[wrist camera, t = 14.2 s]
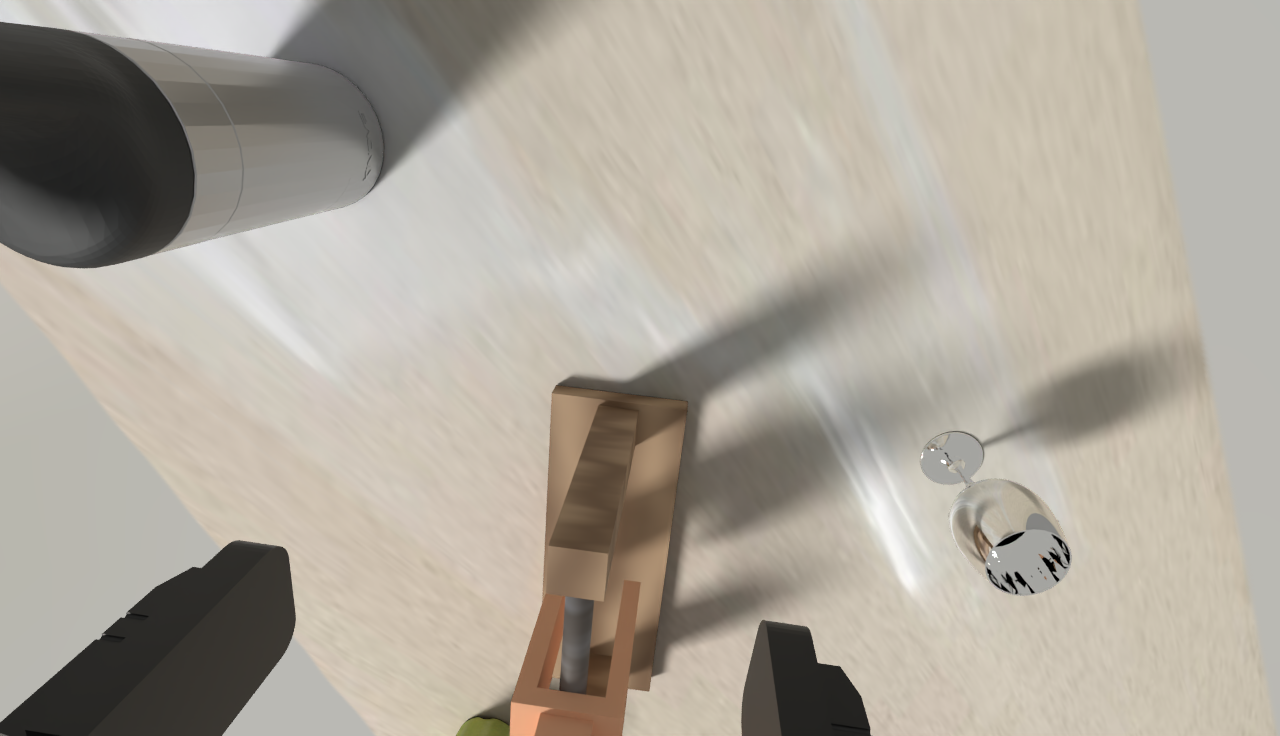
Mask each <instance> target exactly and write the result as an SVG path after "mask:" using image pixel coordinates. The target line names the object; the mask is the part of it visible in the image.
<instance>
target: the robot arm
mask: <svg viewBox="0 0 1280 736" xmlns="http://www.w3.org/2000/svg"><path fill="white" fill-rule="evenodd" d="M383 150H384V145H383V138H382V132H381V128H380V125H379V122H378V119H377V116H376V114H375V112H374V110H373V109H372V107H371V105H370V103H369V101H368V100H367V99H366V97H365V96H364V95H363V94H362V93H361V91H360V90H359V89H358V88H357V87H356V86H355V85H354V84H353V83H351V82H350V81H349V80H348V79H347V78H346V77H344V76H342V75H341V74H339V73H337V72H335V71H334V70H332V69H329V68H326V67H323V66H320V65H317V64H310V63H303V62H296V61H288V60H282V59H276V58H269V57H262V56H255V55H248V54H240V53H233V52H226V51H219V50H211V49H204V48H197V47H190V46H182V45H175V44H168V43H161V42H154V41H146V40H139V39H132V38H122V37H114V36H107V35H100V34H93V33H85V32H78V31H71V30H63V29H56V28H48V27H40V26H31V25H22V24H13V23H5V22H0V243H2V244H4V245H5V246H7V247H9V248H11V249H12V250H14V251H16V252H18V253H20V254H22V255H24V256H27V257H29V258H32V259H35V260H37V261H40V262H44V263H47V264H51V265H55V266H61V267H70V268H97V267H103V266H109V265H115V264H119V263H123V262H127V261H131V260H135V259H139V258H143V257H146V256H149V255H153V254H157V253H161V252H165V251H169V250H173V249H177V248H181V247H185V246H189V245H193V244H197V243H201V242H204V241H208V240H212V239H216V238H220V237H224V236H228V235H232V234H236V233H240V232H244V231H248V230H252V229H256V228H260V227H265V226H269V225H273V224H277V223H281V222H285V221H289V220H293V219H297V218H301V217H305V216H310V215H314V214H318V213H322V212H326V211H330V210H334V209H338V208H342V207H345V206H348V205H350V204H353V203H355V202H357V201H358V200H360V199H361V198H363V197H364V196H365V195H366V194H367V193H368V192H369V191H370V190H371V188H372V187H373V186H374V184H375V182H376V180H377V178H378V176H379V174H380V171H381V167H382V163H383ZM295 621H296V615H295V606H294V598H293V589H292V581H291V572H290V564H289V556H288V553H287V551H286V549H285V548H283V547H280V546H274V545H267V544H260V543H253V542H247V541H240V540H238V541H233V542H231V543H229V544H228V545H227V546H225V547H224V548H223V549H222V550H221V551H220V552H219V553H218V554H217V555H216V556H214V557H213V559H211V560H210V561H209V562H208V563H207V564H206V565H205V566H204V567H202V568H196V567H192V568H190V569H189V570H187V571H185V572H183V573H181V574H179V575H177V576H176V577H174V578H172V579H170V580H168V581H166V582H164V583H163V584H161V585H159V586H157V587H155V588H154V589H153V590H152V591H151V592H150V593H148V594H147V595H146V596H145V597H144V598H143V599H142V600H140V601H139V602H138V603H137V604H136V605H135V606H134V607H133V608H131V609H130V610H129V611H128V612H127V615H126V617H125V618H120V619H119V620H117V621H116V622H115V623H114V624H113V625H112V626H111V627H109V628H108V629H107V630H106V631H105V632H104V633H103V634H102V637H101V639H100V640H94V641H93V642H92V643H91V644H90V645H89V646H88V647H87V648H85V649H84V650H83V651H82V652H81V653H80V654H78V655H77V656H76V657H75V658H74V659H73V660H72V661H70V662H69V663H68V664H67V665H66V666H65V667H63V668H62V669H61V670H60V671H59V672H58V673H57V674H55V675H54V676H53V677H52V678H51V679H50V680H49V681H48V682H46V683H45V684H44V685H43V686H42V687H40V688H39V689H38V690H37V691H36V692H35V693H34V694H32V695H31V696H30V697H29V698H28V699H27V700H26V701H24V702H23V703H22V704H21V705H20V706H19V707H18V708H16V709H15V710H14V711H13V712H12V713H11V714H9V715H8V716H7V717H6V718H5V719H4V720H3V721H2V722H0V736H222V735H223V733H224V732H225V731H226V729H227V728H228V727H229V725H230V724H231V723H232V722H233V720H234V719H235V718H236V716H237V715H238V714H239V712H240V711H241V710H242V708H243V707H244V706H245V705H246V703H247V702H248V701H249V699H250V698H251V697H252V695H253V694H254V693H255V691H256V690H257V689H258V688H259V686H260V685H261V684H262V682H263V681H264V680H265V678H266V677H267V676H268V674H269V673H270V672H271V671H272V669H273V668H274V667H275V665H276V664H277V663H278V662H279V660H280V659H281V657H282V656H283V655H284V653H285V651H286V650H287V648H288V645H289V643H290V641H291V639H292V635H293V632H294V628H295ZM741 723H742V736H871V735H870V726H869V722H868V719H867V715H866V712H865V708H864V705H863V701H862V698H861V696H860V694H859V693H858V691H857V690H856V688H855V687H854V686H853V684H852V683H851V681H850V680H849V679H848V677H847V676H846V674H845V673H844V671H843V670H842V669H841V667H840V666H833V665H827V664H820V663H817V658H816V654H815V649H814V645H813V640H812V636H811V632H810V630H809V628H808V627H805V626H799V625H792V624H785V623H778V622H772V621H765V620H762V621H761V623H760V625H759V628H758V632H757V636H756V641H755V645H754V649H753V653H752V657H751V661H750V666H749V670H748V674H747V678H746V682H745V687H744V693H743V701H742V719H741Z"/></svg>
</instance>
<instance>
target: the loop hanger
mask: <svg viewBox="0 0 1280 736" xmlns="http://www.w3.org/2000/svg"><path fill="white" fill-rule="evenodd" d="M640 584H641V582H636V581H629V580H624V585H623V591H622V597H621V603H620V610H619V616H618V622H617V629H616V635H615V641H614V648H613V654H612V660H611V666H610V673H609V679H608V685H607V692H606V698H605V697H598V696H591V695H585V694H578V693H571V692H565V691H558V690H551V689H549V686H550V683H551V679H552V675H553V671H554V667H555V663H556V660H557V656H558V652H559V648H560V644H561V640H562V636H563V625H564V609H565V596H560V595H553V594H545V597H544V600H543V603H542V606H541V609H540V613H539V616H538V619H537V622H536V625H535V628H534V631H533V634H532V638H531V641H530V644H529V647H528V650H527V653H526V656H525V660H524V663H523V666H522V669H521V672H520V675H519V678H518V681H517V685H516V688H515V691H514V694H513V697H512V700H511V713H510V736H622V730H623V723H624V715H625V707H626V699H627V690H628V682H629V674H630V666H631V658H632V650H633V641H634V633H635V625H636V617H637V609H638V601H639V592H640Z"/></svg>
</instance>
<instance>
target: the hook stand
mask: <svg viewBox="0 0 1280 736" xmlns="http://www.w3.org/2000/svg"><path fill="white" fill-rule="evenodd" d="M687 405H688V401H680V400H672V399H663V398H655V397H647V396H639V395H631V394H623V393H615V392H607V391H599V390H590V389H582V388H574V387H566V386H558V385H556V387H555V389H554V390H553V392H552V403H551V424H550V446H549V468H548V490H547V512H546V534H545V556H544V578H543V599H542V603H543V600H544V597H545V594H553V595H560V596H565V609H564V625H563V636H562V640H561V644H560V648H559V652H558V656H557V660H556V663H555V667H554V671H553V675H552V677H553V678H560V688H559V691H565V692H571V693H578V694H585V695H591V696H598V697H605V698H606V692H607V685H608V679H609V673H610V666H611V660H612V654H613V648H614V641H615V635H616V629H617V622H618V616H619V610H620V603H621V597H622V591H623V585H624V580H629V581H636V582H641V584H640V592H639V601H638V609H637V617H636V625H635V633H634V641H633V650H632V658H631V666H630V674H629V682H628V689H635V690H642V691H649V689H650V682H651V675H652V667H653V660H654V652H655V645H656V638H657V630H658V623H659V615H660V608H661V601H662V593H663V586H664V578H665V571H666V564H667V556H668V549H669V541H670V534H671V527H672V519H673V512H674V504H675V497H676V490H677V482H678V475H679V467H680V460H681V453H682V445H683V438H684V430H685V423H686V416H687Z"/></svg>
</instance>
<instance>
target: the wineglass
mask: <svg viewBox="0 0 1280 736" xmlns="http://www.w3.org/2000/svg"><path fill="white" fill-rule="evenodd" d="M982 461H983V451H982V448H981V445H980V444H979V442H978V441H977V440H976V439H975V438H973V437H972V436H970V435H968V434H966V433H961V432H949V433H945V434H942V435H939V436H937V437H935V438H934V439H932V440H931V441H930V442H929V443H928V444H927V445H926V446H925V448H924V449H923V451H922V454H921V458H920V465H921V469H922V471H923V473H924V474H925V475H926V477H927V478H929V479H930V480H932V481H933V482H936V483H939V484H943V485H953V484H958V483H961V482H964V483H965V485H966V488H965V489H964V490H962V491H961V492H960V493H959V495H958V496H957V497H956V498H955V500H954V502H953V504H952V506H951V509H950V512H949V527H950V531H951V535H952V538H953V540H954V542H955V544H956V546H957V548H958V549H959V551H960V552H961V554H962V555H963V556H964V557H965V559H966V560H967V561H968V562H969V563H970V565H971V566H972V567H973V568H974V569H975V570H976V571H977V572H978V573H979V574H980V575H982V576H983V577H984V578H985V579H986V580H987V581H988V582H989V583H991V584H992V585H993V586H994V587H996V588H997V589H999V590H1001V591H1002V592H1005V593H1008V594H1012V595H1020V596H1025V595H1033V594H1037V593H1041V592H1044V591H1046V590H1048V589H1050V588H1052V587H1054V586H1055V585H1056V584H1058V583H1059V582H1060V581H1061V580H1062V579H1063V578H1064V577H1065V575H1066V574H1067V572H1068V570H1069V568H1070V565H1071V559H1072V555H1071V551H1070V547H1069V545H1068V542H1067V540H1066V537H1065V535H1064V532H1063V530H1062V528H1061V526H1060V524H1059V522H1058V520H1057V519H1056V517H1055V515H1054V514H1053V512H1052V511H1051V510H1050V508H1049V507H1048V506H1047V504H1046V503H1045V502H1044V501H1043V500H1042V499H1041V498H1040V497H1039V496H1038V495H1037V494H1036V493H1034V492H1033V491H1032V490H1030V489H1029V488H1027V487H1026V486H1024V485H1022V484H1020V483H1017V482H1015V481H1011V480H1007V479H997V478H994V479H986V480H981V481H978V482H973V481H972V480H971V479H970V478H971V477H972V476H973V475H974V474H975V473H976V472H977V471H978V470H979V468H980V466H981V464H982Z"/></svg>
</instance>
